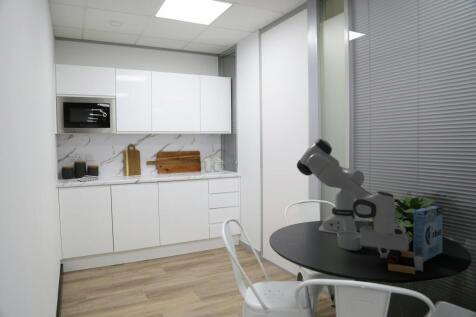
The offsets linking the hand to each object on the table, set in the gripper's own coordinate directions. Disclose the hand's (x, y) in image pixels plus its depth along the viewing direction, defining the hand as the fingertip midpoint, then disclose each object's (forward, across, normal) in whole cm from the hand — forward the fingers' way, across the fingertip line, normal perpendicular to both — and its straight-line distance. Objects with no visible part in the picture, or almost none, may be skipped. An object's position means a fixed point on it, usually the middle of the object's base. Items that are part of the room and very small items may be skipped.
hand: (383, 257), depth 148 cm
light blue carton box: (+2, +18, +16) cm, 25 cm away
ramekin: (+2, -17, +14) cm, 22 cm away
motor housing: (+2, +9, 0) cm, 9 cm away
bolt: (+2, +4, 0) cm, 4 cm away
